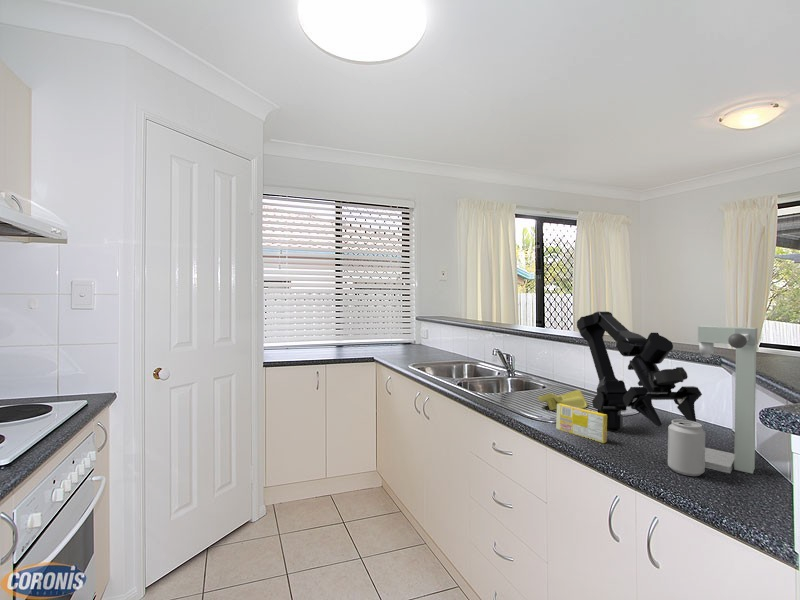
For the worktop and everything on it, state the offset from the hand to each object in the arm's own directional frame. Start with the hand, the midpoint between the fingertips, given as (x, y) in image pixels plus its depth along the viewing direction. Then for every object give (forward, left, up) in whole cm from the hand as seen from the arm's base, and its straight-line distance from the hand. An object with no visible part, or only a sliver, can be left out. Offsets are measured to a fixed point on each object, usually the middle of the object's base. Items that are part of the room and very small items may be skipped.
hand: (677, 425), depth 105 cm
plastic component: (-45, +34, -11) cm, 57 cm away
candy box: (-27, +7, -11) cm, 29 cm away
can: (+2, -2, -10) cm, 11 cm away
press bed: (+4, +10, -10) cm, 15 cm away
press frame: (+8, +3, -10) cm, 13 cm away
